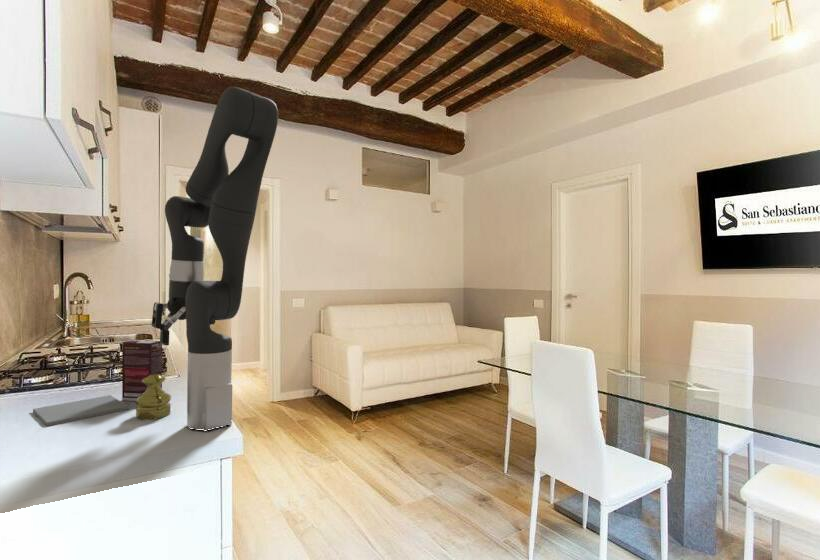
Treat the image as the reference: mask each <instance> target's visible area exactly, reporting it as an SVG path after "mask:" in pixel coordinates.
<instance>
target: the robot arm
mask: <svg viewBox="0 0 820 560" xmlns="http://www.w3.org/2000/svg"><path fill="white" fill-rule="evenodd" d="M219 97H220V98H219V99H218V101H217V104H216V106H215V110H214V113H213V115H212V118H211V122H210V125H209V127H208V132H207V133H206V138H205V142H204V145H203V149H202V150H201V151H202V152H201V153H200V154H201V155H200V157H199V159H198V162H197V164H196V166H195V167H194V169H193V171H192V173H191V175H190V177H189V178H188V180H187V182H186V185H185V193H186V194H187V197H185V196H179V195H177V196H176V195H175V196H173V195H172V196H171V197H170V198H169V199H168V200H167V201H166V203H165V207H164V214H165V218H166V223H167V225H168V226H167V227H168V230H169V235H170V239H171V258H170V266H169V274H168V277H169V278H168V279H169V281H168V301H167V302H165V303H162V302H161V303H160V302H157V301H155V302H154V304H153V307H152V317H151V327H152V328H155V329H157V330H158V329H159V341H160V342H161V343H162V346H165V347H166V346H167V347H168V346H169V345H170V330H169V329H171V327H172V326H173V324H175V323H177V322H178V320H179V321H183V320H185V327H186V328H185V329H186V332H185V333H186V334H185V335H186V340H187V341H186V342H187V387H186V388H187V393H186V394H187V395H186V396H187V397H186V398H187V401H186V403H187V405H186V406H187V407H186V409H187V411H186V412H187V414H186V415H187V416H186V427H187V426H188V427H190V428H193V429H204V430H208V429H212V428H216V427H221V426H225V427H227V426H226V425H229V426H231V425H232V424H233V384H232V367H233V366H232V360H233V359H232V358H233V355H232V354H233V340H232V337H231V336H229V335H226V334H222V333H218V332H215V330H214V331H213V330H212V328H211V325H215V324H216V321H225V320H231V319H233V318H235V316H237V314H238V313H239V310H240V307H241V303H242V296H243V286H244V285H243V284H244V277H245V276H244V275H245V269H246V260H247V254H248V248H249V244H250V241H251V240H250V239H251V237H252V236H251V235H252V231H253V226H254V222H255V218H256V213H257V208H258V207H257V206H258V200H259V195H260V190H261V185H262V182H263V177H264V173H265V169H266V165H267V164H268V163H267V162H268V158H269V157H270V152H271V150H272V145H273V142H274V140H275V139H274V138H275V136H276V132H277V127H278V123H279V112H278V110H279V109H278V107H277V104H276V103H275V101H273V100H272V99H270V98H268V97H265V96H263V95H260V94H258V93H255V92H252V91H250V90H247V89H244V88H241V87H238V86H229V87H227V88H226V89H224V91H223V92H222V94H221V95H220V96H219ZM232 135H233V136H238V137H240V138H244V139H247V145H246V146H245V147H246V148H245V150H244V153H243V156H242V158H241V160H240V161H239V162H238V165H236V167H235V168H234V169H233V170H232V171H231V172H230V173H229V171H230V170H229V169H230V168H229V164H228V158H227V154H226V145H227V142H228V140H229V138H230V137H231V136H232ZM186 227H189V228H190V227H191V228H200V229H201V228H206V227H208V229H209V232H210V236H211V237H212V239H213V241H214V244H215V245H216V248H217V250H218V252H219V254H220V256H221V259H222V272H221V273H222V274H221V275H222V276H221V278H220V280H204V274H205V267H204V253H205V252H204V251H205V250H204V249H205V243H204V240H203V239H202V238H200V237H198V236H193V235H191V234H189V233H188V232H187V229H186ZM166 309H167V310H168V311H169V313H168V314H166V316H165V317H164V320H163V313H164V312H165V311H166ZM162 320H163V321H162ZM231 420H232V421H231ZM188 427H187V428H188Z"/></svg>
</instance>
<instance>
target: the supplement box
mask: <svg viewBox="0 0 820 560" xmlns="http://www.w3.org/2000/svg"><path fill="white" fill-rule="evenodd" d="M121 347H122V348H121V349H122V351H121V353H122V355H121V357H122V359H121V361H122V363H121V364H122V365H121V367H122V370H121V371H122V374H121V375H122V379H121V380H122V383H121V384H122V385H121V387H122V388H121V389H122V390H121V395H122V396H121V397H122V398H121V400H122V401H128V402H129V401H130V402H136V399H137V398H138V397H139V396H141V395H142V394H143V393H144V392H145V391H146V390H147V385H146V384H144V383H143V382H142V379H144V378H145V377H147V376H149V375H150V374H158V375H162V376H163V344H162V343H161V342H160V340H150V339H149V340H146V339H145V340H144V339H132V340H131V339H130V340H126V341H123V342H122V345H121ZM160 388H161V389H162V390H163V382H162V383H161V385H160Z"/></svg>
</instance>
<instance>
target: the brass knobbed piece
mask: <svg viewBox="0 0 820 560" xmlns="http://www.w3.org/2000/svg"><path fill="white" fill-rule="evenodd" d="M165 381H166V377H165V376H164V375H163V374H162V375H158V374H150V375H149V376H147V377H145V378H144V379H142V382H143V383H144V384H146V385H147V390H146V391H145V392H144V393H143V394H142V395H141V396H139V397H138V398H137V399H136V401H135V404H136V405H137V406H136V408H135V417H136V418H137V419H138V420H143V419H149V420H156V419H155V418H157V419H161V418H163V417H166V415H167V416H168V415H170V414H171V411H172V410H171V405H172V404H171V403H170V402H171V399H172V395H171V394H170V393H168V392H166V391H165V390H164V389H163V388H162V389H161V388H160V385H161V383H162V384H163V383H164V382H165ZM160 417H161V418H160Z"/></svg>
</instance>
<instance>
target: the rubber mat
mask: <svg viewBox="0 0 820 560" xmlns="http://www.w3.org/2000/svg"><path fill="white" fill-rule="evenodd" d="M126 410H129V405H127V404H126V403H124V402H122V401H121V400H119V399H118V398H116V397H114V396H112V395H111V394H109V395H103V396H98V397H92V398H87V399H79V400H77V401H75V400H74V401H70V402H65V403H59V404H53V405H48V406H41V407H37V408H32V412H33V414H34V415H35V416H36V417H37V418H38V419H40V421H41V422H42V423H45V424H46V425H47V426H46V425H45V424H44V425H45V426H46V427H49V426H48V425H50V426H53V425H54V424H55V425H59V423H60V424H65V423H69V422H74V421H78V420H84V419H89V418H93V417H94V418H95V417H97V416H102V415H108V414H112V413H117V412H121V411H126Z"/></svg>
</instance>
